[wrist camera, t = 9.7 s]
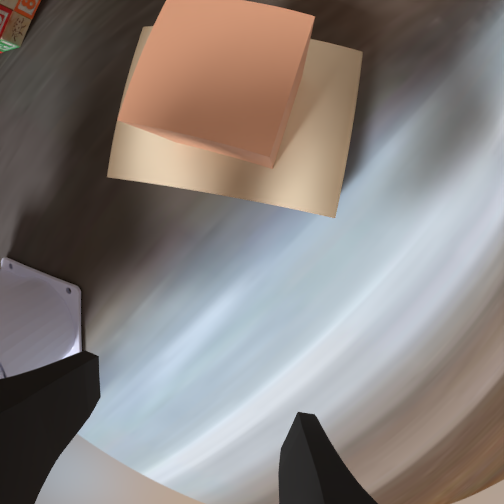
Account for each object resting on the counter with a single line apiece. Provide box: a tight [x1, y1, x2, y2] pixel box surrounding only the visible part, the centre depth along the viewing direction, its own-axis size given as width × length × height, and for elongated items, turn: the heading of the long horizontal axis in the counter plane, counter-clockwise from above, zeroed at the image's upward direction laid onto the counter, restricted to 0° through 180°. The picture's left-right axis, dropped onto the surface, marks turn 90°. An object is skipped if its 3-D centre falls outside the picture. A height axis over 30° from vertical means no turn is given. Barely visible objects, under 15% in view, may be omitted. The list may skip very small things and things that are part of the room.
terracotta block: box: [117, 0, 315, 169], centre depth 11 cm, size 5×5×6 cm
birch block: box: [107, 26, 363, 218], centre depth 16 cm, size 12×9×4 cm
